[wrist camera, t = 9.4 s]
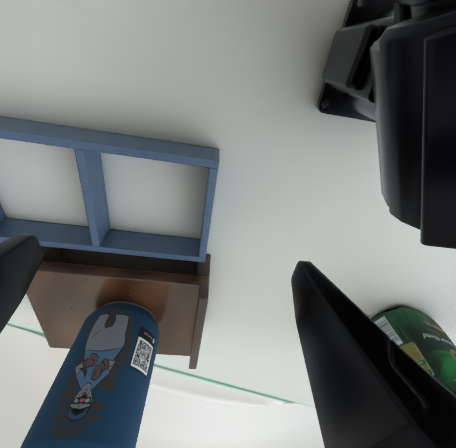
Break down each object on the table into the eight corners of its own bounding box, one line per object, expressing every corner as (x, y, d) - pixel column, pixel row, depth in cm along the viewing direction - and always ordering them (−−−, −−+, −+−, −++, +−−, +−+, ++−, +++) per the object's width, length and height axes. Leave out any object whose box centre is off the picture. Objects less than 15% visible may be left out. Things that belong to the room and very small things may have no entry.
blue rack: (219, 148, 20) (219, 160, 18) (206, 244, 25) (204, 262, 23) (-47, 109, 18) (-84, 117, 16) (1, 222, 23) (-21, 240, 21)
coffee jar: (445, 321, 33) (634, 552, 18) (393, 349, 37) (515, 560, 22) (400, 295, 30) (584, 548, 15) (349, 329, 34) (454, 558, 19)
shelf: (210, 254, 26) (208, 299, 21) (199, 324, 33) (196, 369, 28) (44, 237, 24) (2, 281, 20) (68, 314, 31) (42, 360, 26)
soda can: (122, 345, 27) (65, 512, 18) (73, 310, 24) (-32, 494, 14) (176, 328, 26) (147, 500, 16) (132, 286, 22) (61, 477, 12)
